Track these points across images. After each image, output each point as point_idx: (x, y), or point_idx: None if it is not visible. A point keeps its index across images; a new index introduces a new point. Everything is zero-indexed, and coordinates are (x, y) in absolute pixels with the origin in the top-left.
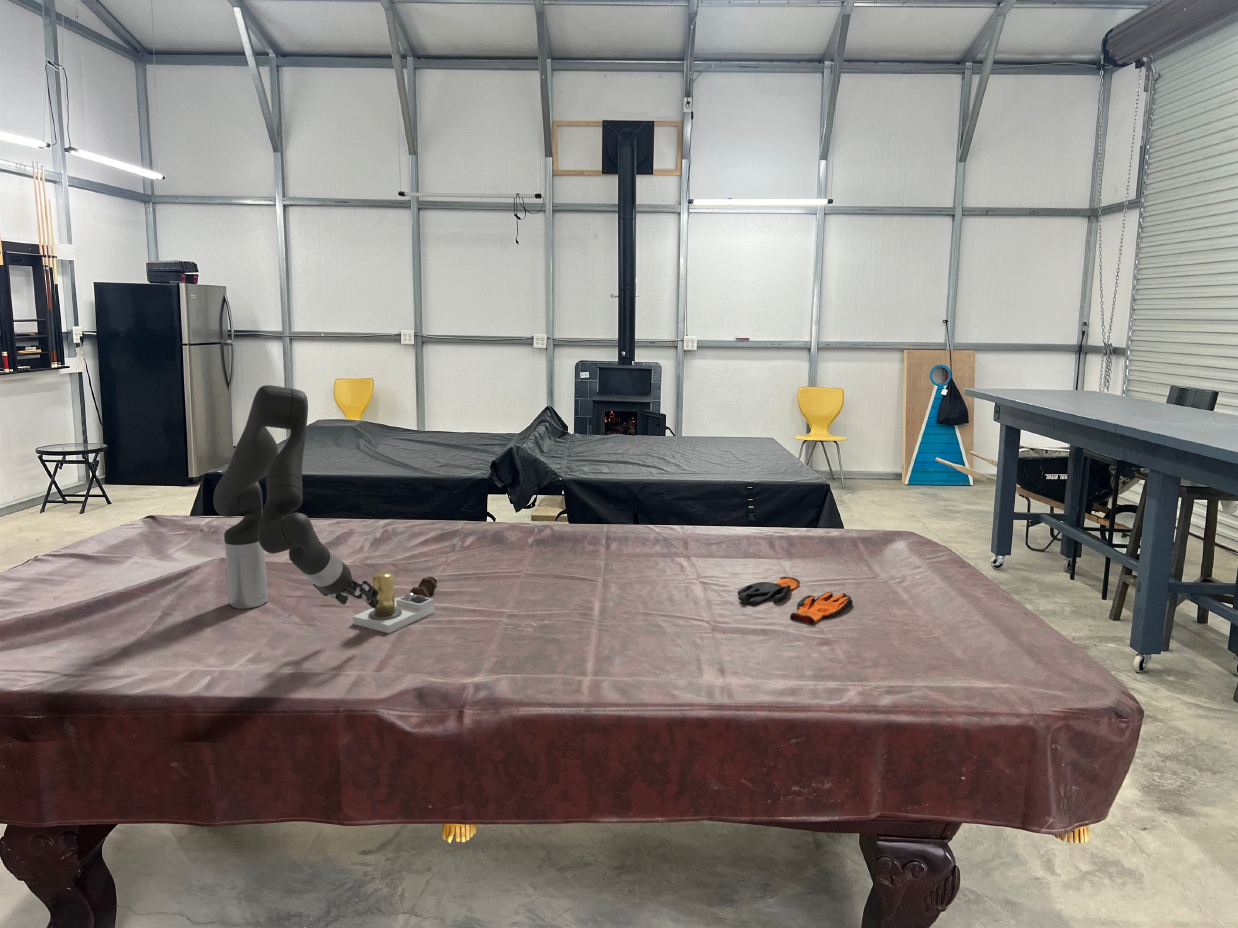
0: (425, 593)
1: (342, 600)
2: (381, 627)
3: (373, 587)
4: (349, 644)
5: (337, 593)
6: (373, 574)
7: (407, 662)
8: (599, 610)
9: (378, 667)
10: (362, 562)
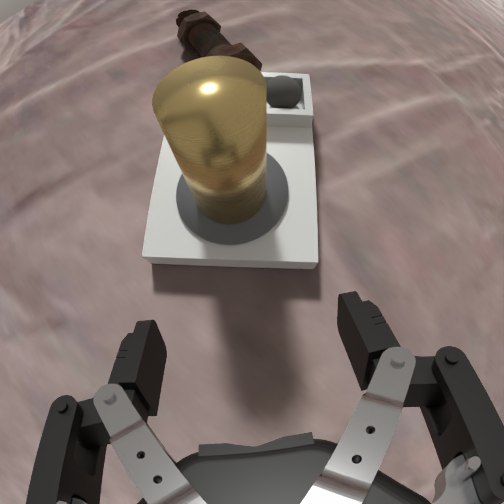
0: (255, 58)
1: (159, 370)
2: (280, 265)
3: (492, 406)
4: (264, 401)
5: (140, 411)
6: (156, 107)
7: None
8: (497, 52)
9: None
10: (22, 52)
